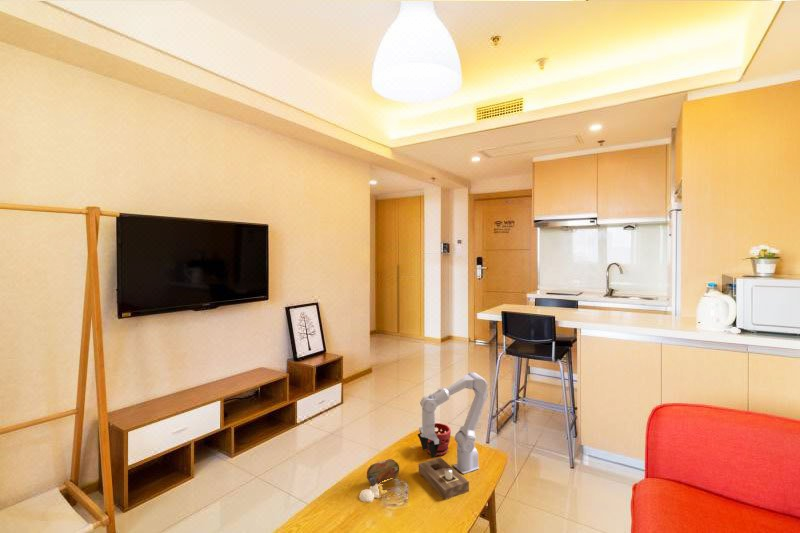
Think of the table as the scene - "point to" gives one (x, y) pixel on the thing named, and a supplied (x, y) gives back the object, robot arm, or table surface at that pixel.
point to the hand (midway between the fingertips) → (429, 453)
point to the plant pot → (441, 438)
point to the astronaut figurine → (369, 494)
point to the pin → (448, 474)
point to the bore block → (443, 478)
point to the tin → (382, 471)
